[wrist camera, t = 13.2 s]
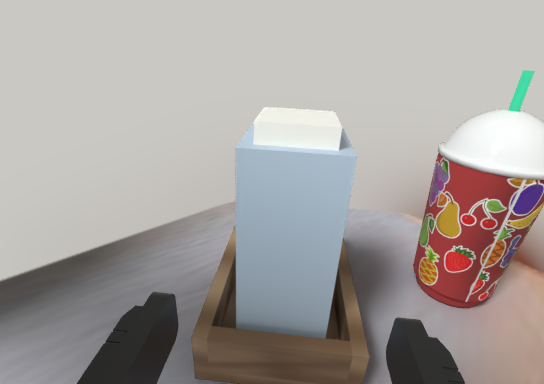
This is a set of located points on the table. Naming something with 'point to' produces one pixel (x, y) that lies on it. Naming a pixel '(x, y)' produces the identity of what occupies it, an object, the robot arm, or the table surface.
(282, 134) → the carton
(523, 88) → the smoothie
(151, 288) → the table surface
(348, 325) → the crate
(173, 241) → the table surface
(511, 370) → the table surface
